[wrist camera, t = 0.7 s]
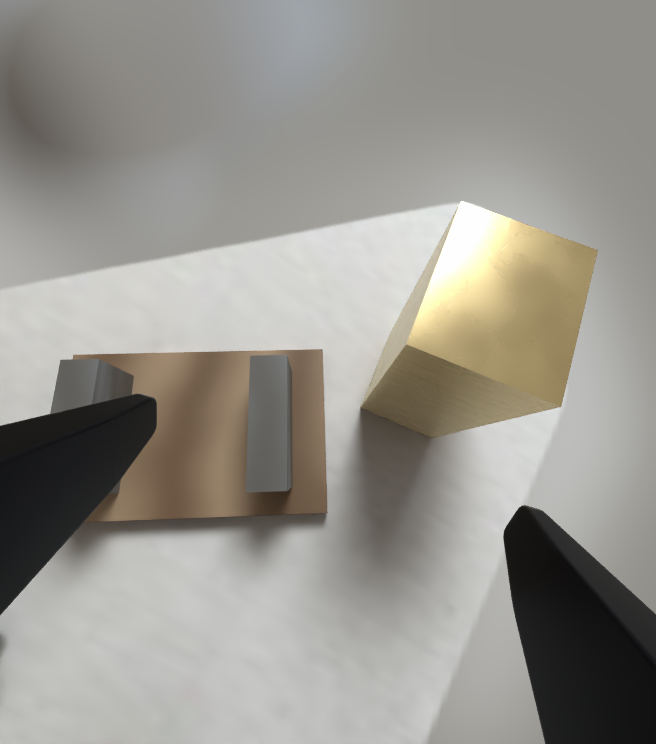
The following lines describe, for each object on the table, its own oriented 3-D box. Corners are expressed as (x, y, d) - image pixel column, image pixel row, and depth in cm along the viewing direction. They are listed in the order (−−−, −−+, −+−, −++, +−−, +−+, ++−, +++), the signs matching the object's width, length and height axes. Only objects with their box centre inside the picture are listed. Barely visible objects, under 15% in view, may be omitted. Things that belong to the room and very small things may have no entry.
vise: (322, 354, 23) (323, 328, 19) (327, 510, 20) (329, 522, 16) (76, 359, 22) (18, 334, 18) (47, 521, 20) (-30, 537, 15)
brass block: (432, 437, 22) (561, 406, 10) (360, 407, 22) (406, 344, 11) (459, 357, 23) (597, 250, 12) (391, 330, 24) (461, 201, 12)
